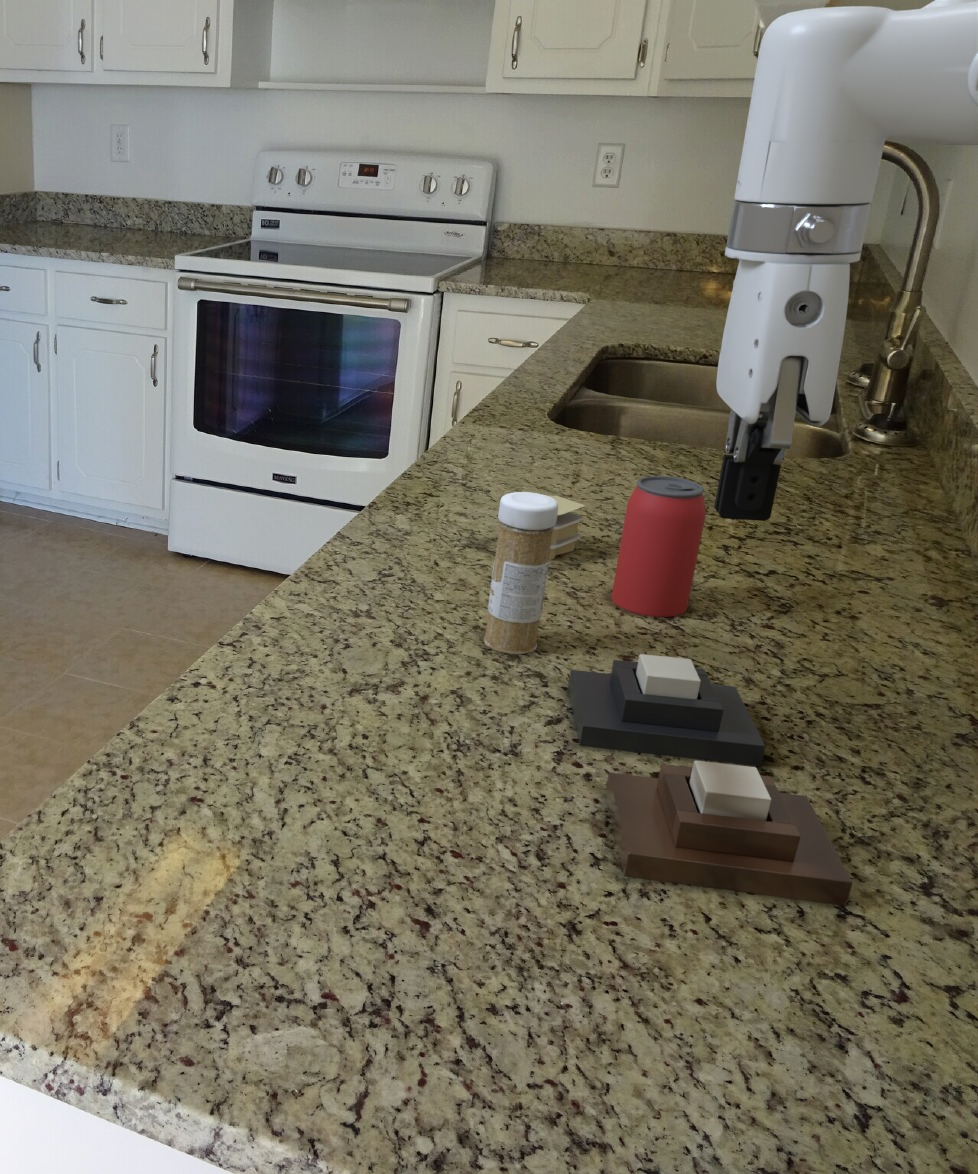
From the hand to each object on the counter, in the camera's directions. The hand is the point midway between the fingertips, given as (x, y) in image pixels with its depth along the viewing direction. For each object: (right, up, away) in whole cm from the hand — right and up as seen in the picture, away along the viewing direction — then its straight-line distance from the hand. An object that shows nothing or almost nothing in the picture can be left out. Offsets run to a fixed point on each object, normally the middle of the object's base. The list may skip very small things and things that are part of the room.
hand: (741, 515), depth 75 cm
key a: (-5, -18, -8) cm, 20 cm away
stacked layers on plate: (-1, -2, +40) cm, 40 cm away
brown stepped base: (-5, -21, -7) cm, 23 cm away
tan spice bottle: (-10, -10, +19) cm, 24 cm away
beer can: (+5, -7, +28) cm, 29 cm away
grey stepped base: (-3, -16, +7) cm, 17 cm away
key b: (-3, -12, +5) cm, 14 cm away
